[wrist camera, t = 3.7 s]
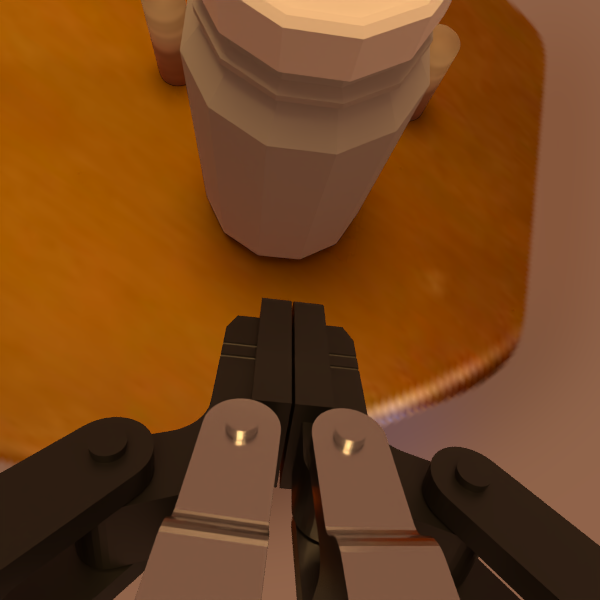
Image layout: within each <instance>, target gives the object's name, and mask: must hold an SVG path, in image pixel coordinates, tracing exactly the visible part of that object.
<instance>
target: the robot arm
mask: <svg viewBox="0 0 600 600" xmlns="http://www.w3.org/2000/svg"><path fill="white" fill-rule="evenodd" d="M279 470H280V488H285V489H292V515H293V517H292V522H291V531H292V544H293V556H294V568H295V581H296V595H297V600H520V599H519V598H518V597H517V596H516V595H515V594H514V593H513V592H512V591H511V590H510V589H509V588H508V587H507V586H506V585H505V584H503V582H502V581H501V580H500V579H498V578H497V577H496V576H495V575H494V574H493V573H492V572H491V571H490V570H489V569H488V568H487V567H486V566H485V565H484V564H483V563H482V562H481V561H480V560H479V559H478V557H480V558H481V559H482V560H483V561H484V562H485V563H486V564H487V565H488V566H489V567H490V568H492V569H493V570H494V571H495V572H496V573H497V574H498V575H499V576H500V577H501V578H502V579H503V580H504V581H505V582H506V583H507V584H508V585H509V586H510V587H511V588H513V589H514V590H515V591H516V592H517V593H518V594H519V595H520V596H521V597H522V598H523V599H524V600H600V546H599V545H598V544H596V543H595V542H594V541H593V540H591V539H590V538H589V537H588V536H586V535H585V534H584V533H582V532H581V531H580V530H579V529H577V528H576V527H575V526H574V525H572V524H571V523H570V522H569V521H567V520H566V519H565V518H563V517H562V516H561V515H560V514H558V513H557V512H556V511H555V510H553V509H552V508H551V507H550V506H548V505H547V504H546V503H544V502H543V501H542V500H541V499H539V498H538V497H537V496H536V495H534V494H533V493H532V492H531V491H529V490H528V489H527V488H525V487H524V486H523V485H522V484H520V483H519V482H518V481H517V480H515V479H514V478H513V477H511V476H510V475H509V474H508V473H506V472H505V471H504V470H503V469H501V468H500V467H499V466H498V465H496V464H495V463H494V462H492V461H491V460H490V459H488V458H487V457H485V456H483V455H482V454H480V453H478V452H475V451H473V450H470V449H467V448H462V447H448V448H444V449H442V450H440V451H438V452H437V453H436V454H435V455H434V457H433V458H432V461H431V462H430V461H428V460H425V459H422V458H419V457H416V456H414V455H411V454H408V453H405V452H403V451H400V450H398V449H396V448H394V447H392V446H390V445H389V444H388V441H387V438H386V435H385V433H384V431H383V429H382V428H381V427H380V425H379V424H378V423H377V422H376V421H374V420H373V419H372V418H371V417H369V416H368V415H367V410H366V405H365V400H364V394H363V389H362V384H361V379H360V373H359V371H358V363H357V359H356V352H355V347H354V342H353V340H352V339H351V337H350V336H349V335H348V334H347V332H346V331H345V330H344V329H343V327H334V326H326V322H325V313H324V306H323V305H319V304H311V303H302V302H293V306H292V302H291V301H286V300H277V299H268V298H262V303H261V311H260V318H255V317H247V316H237V317H236V318H235V319H234V320H233V321H232V322H231V323H230V324H229V325H228V326H227V327H226V332H225V337H224V342H223V346H222V351H221V356H220V360H219V365H218V370H217V375H216V379H215V384H214V389H213V394H212V398H211V402H210V406H209V408H208V409H207V411H206V412H205V414H204V415H203V416H202V417H201V418H200V419H198V420H197V421H196V422H194V423H192V424H190V425H188V426H186V427H184V428H181V429H178V430H173V431H168V432H162V433H156V434H151V433H150V431H149V430H148V429H147V428H146V427H145V426H144V425H143V424H141V423H140V422H137V421H135V420H132V419H129V418H122V417H111V418H104V419H100V420H96V421H93V422H91V423H89V424H87V425H85V426H83V427H81V428H79V429H77V430H76V431H74V432H72V433H70V434H69V435H67V436H65V437H63V438H62V439H60V440H58V441H56V442H54V443H53V444H51V445H49V446H47V447H46V448H44V449H42V450H40V451H39V452H37V453H35V454H33V455H32V456H30V457H28V458H26V459H25V460H23V461H21V462H19V463H17V464H16V465H14V466H12V467H10V468H9V469H7V470H5V471H3V472H2V473H0V600H113V599H114V598H115V597H116V596H117V595H118V594H119V593H120V592H122V591H123V590H124V589H125V588H126V587H127V586H128V585H129V584H131V583H132V582H133V581H134V580H135V579H136V578H137V577H138V576H139V575H141V574H142V573H143V571H144V570H145V571H144V574H143V577H142V580H141V583H140V586H139V588H138V591H137V594H136V598H135V600H261V597H262V589H263V581H264V573H265V564H266V557H267V549H268V539H269V521H270V513H271V505H272V497H273V489H274V487H277V481H278V476H279Z"/></svg>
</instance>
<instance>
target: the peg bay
mask: <svg viewBox="0 0 600 600" xmlns="http://www.w3.org/2000/svg"><path fill="white" fill-rule="evenodd" d="M141 2H142V6H143V10H144V14H145V17H146V21H147V25H148V29H149V33H150V37H151V41H152V45H153V49H154V53H155V56H156V60H157V64H158V68H159V72H160V75H161V77H162V79H163V80H164V81H165V82H167V83H169V84H171V85H175V86H181V85H185V84H186V81H185V75H184V70H183V65H182V59H181V54H180V45H181V39H182V32H183V26H184V19H185V13H186V2H185V0H141ZM459 49H460V40H459V37H458V35H457V34H456V33H455V31H454V30H452V29H451V28H450V27H448V26H445V25H442V24H437V26H436V27H435V28H434V30H433V41H432V43H431V45H430V85H429V87H428V89H427V90H426V92H425V94H424V96H423V97H422V99H421V101H420V103H419V105H418V106H417V108H416V110H415V112H414V114H413V115H412V117H411V119H410V121H413V120H415V119H417V118H419V117H420V115H421V114H422V112H423V111H424V109H425V107H426V105H427V104H428V102H429V100H430V99H431V97H432V95H433V94H434V92H435V90H436V89H437V87H438V85H439V83H440V82H441V80H442V78H443V77H444V75H445V73H446V72H447V70H448V68H449V66H450V65H451V63H452V61H453V60H454V58H455V56H456V55H457V53H458V51H459Z"/></svg>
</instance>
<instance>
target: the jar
mask: <svg viewBox="0 0 600 600" xmlns="http://www.w3.org/2000/svg"><path fill="white" fill-rule="evenodd" d="M451 1H452V0H187V6H186V13H185V19H184V26H183V32H182V39H181V45H180V54H181V59H182V65H183V70H184V75H185V81H186V86H187V92H188V97H189V103H190V108H191V113H192V119H193V124H194V130H195V135H196V140H197V146H198V151H199V157H200V162H201V168H202V173H203V178H204V184H205V189H206V195H207V198H208V200H209V202H210V204H211V206H212V208H213V210H214V212H215V215H216V217H217V219H218V221H219V223H220V225H221V227H222V229H223V231H224V232H225V233H226V234H228V235H229V236H231V237H232V238H234V239H235V240H236V241H238V242H239V243H241V244H242V245H244V246H245V247H247V248H248V249H250V250H251V251H253V252H254V253H256V254H257V255H260V256H270V257H280V258H290V259H302V258H304V257H306V256H309V255H311V254H313V253H316V252H318V251H320V250H323V249H325V248H327V247H329V246H332V245H334V244H336V243H337V242H338V240H339V239H340V237H341V236H342V235H343V233H344V232H345V230H346V229H347V227H348V226H349V225H350V223H351V222H352V220H353V219H354V217H355V216H356V215H357V213H358V211H359V210H360V208H361V206H362V204H363V202H364V201H365V199H366V197H367V195H368V194H369V192H370V190H371V188H372V186H373V185H374V183H375V181H376V179H377V178H378V176H379V174H380V172H381V170H382V169H383V167H384V165H385V163H386V162H387V160H388V158H389V156H390V154H391V153H392V151H393V149H394V147H395V146H396V144H397V142H398V140H399V138H400V137H401V135H402V133H403V131H404V130H405V128H406V126H407V124H408V122H409V121H410V119H411V117H412V115H413V114H414V112H415V110H416V108H417V106H418V105H419V103H420V101H421V99H422V97H423V96H424V94H425V92H426V90H427V89H428V87H429V85H430V45H431V43H432V41H433V30H434V28H435V27H436V26H437V24H438V23H439V21H440V20H441V19H442V17H443V16H444V15H445V13H446V11H447V9H448V7H449V5H450V3H451Z"/></svg>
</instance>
